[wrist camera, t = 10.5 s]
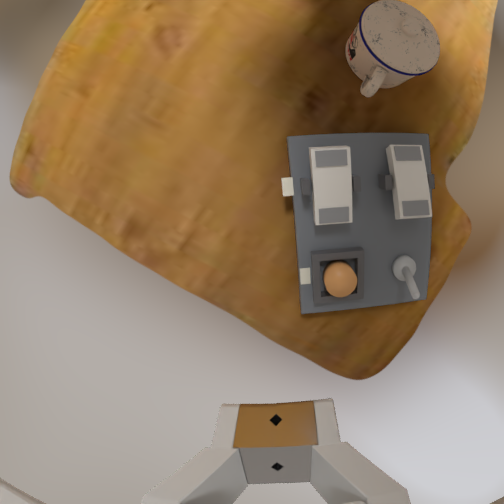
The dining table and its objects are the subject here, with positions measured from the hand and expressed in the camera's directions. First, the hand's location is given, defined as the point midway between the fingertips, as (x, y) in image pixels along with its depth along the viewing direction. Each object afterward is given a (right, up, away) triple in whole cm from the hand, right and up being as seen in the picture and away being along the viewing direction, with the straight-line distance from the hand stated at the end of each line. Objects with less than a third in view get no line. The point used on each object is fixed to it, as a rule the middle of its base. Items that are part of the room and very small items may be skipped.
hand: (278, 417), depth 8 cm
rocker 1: (+7, +11, +23) cm, 27 cm away
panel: (+13, +9, +29) cm, 33 cm away
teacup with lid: (+14, +27, +23) cm, 39 cm away
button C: (+9, +2, +28) cm, 29 cm away
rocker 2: (+16, +12, +22) cm, 30 cm away
